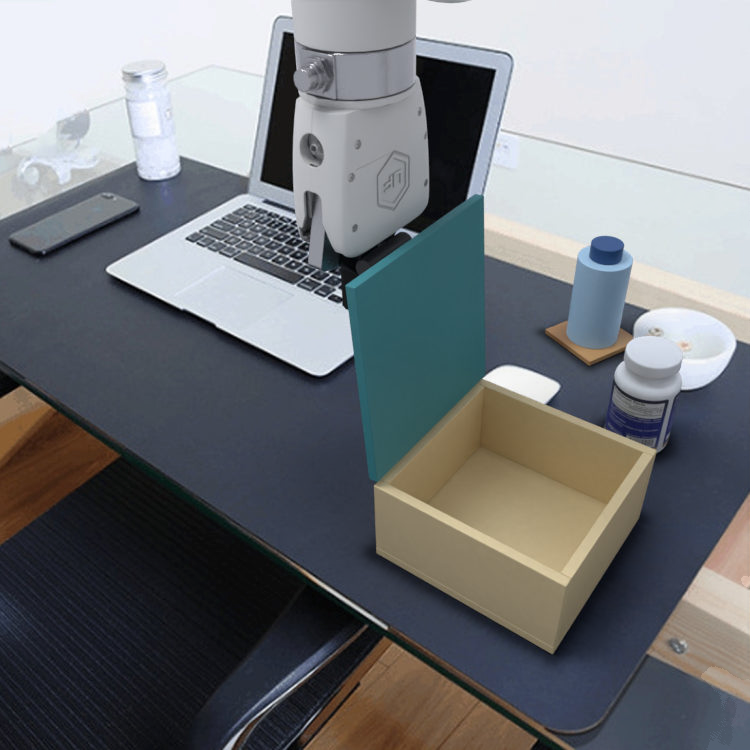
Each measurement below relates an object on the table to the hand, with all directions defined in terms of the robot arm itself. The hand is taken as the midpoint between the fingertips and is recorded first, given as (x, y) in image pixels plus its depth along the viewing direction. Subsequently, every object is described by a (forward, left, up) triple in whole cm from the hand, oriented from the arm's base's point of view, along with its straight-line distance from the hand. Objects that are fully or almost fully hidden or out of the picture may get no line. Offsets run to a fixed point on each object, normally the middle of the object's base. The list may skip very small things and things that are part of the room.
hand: (365, 309), depth 61 cm
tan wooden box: (-13, -5, -17) cm, 22 cm away
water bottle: (+4, -30, -16) cm, 34 cm away
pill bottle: (-10, -23, -17) cm, 30 cm away
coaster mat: (+4, -30, -17) cm, 34 cm away
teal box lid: (-6, -2, 0) cm, 6 cm away
